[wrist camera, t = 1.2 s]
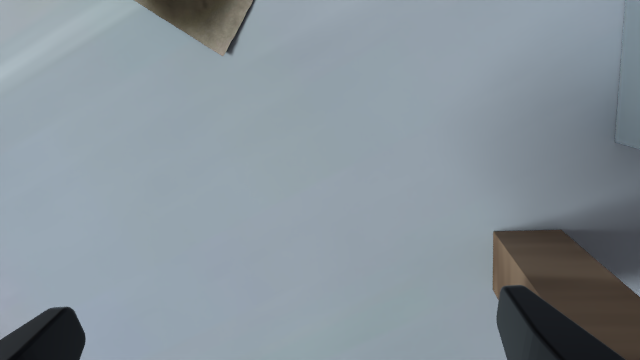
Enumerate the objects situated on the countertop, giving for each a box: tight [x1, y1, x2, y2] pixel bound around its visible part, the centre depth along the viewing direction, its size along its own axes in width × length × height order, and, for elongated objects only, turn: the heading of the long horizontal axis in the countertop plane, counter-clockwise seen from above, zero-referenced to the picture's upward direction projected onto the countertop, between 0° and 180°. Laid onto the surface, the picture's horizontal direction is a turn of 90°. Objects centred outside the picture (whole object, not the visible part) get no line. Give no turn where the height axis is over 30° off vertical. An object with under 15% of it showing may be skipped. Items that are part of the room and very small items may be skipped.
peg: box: [493, 230, 640, 360], centre depth 16 cm, size 3×3×10 cm
